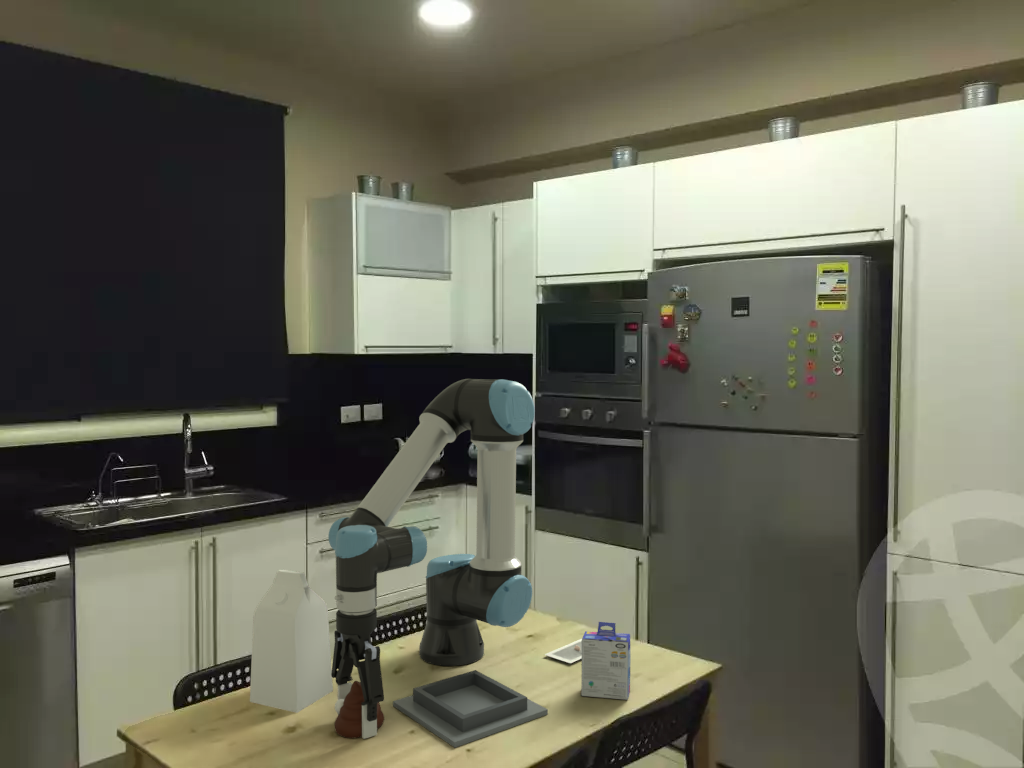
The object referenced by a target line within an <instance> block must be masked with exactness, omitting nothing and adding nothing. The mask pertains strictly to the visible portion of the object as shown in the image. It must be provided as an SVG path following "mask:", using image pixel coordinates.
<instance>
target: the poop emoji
mask: <svg viewBox="0 0 1024 768" xmlns="http://www.w3.org/2000/svg"><path fill="white" fill-rule="evenodd" d="M362 702H365V701H364V697H363V692H362V687H361V683H360V680H353V682H352V686H351V689H350V692H349V693H348V694H347V695H346V697H345V700H344V699H339V700H338V699H337V700H336V701H335V704H334V710H335V712H336V713H337V716H336V718H335V721H334V730H335V732H336V733H337V734H338V735H339V736H340V737H342V738H343V737H344V738H347V739H358V738H362V704H361V703H362ZM380 703H381V702H378V703H377V729H379V728H381V726H382V725H383V724H384V722H385V716H384V713H383V711H382V709H381V708H382V707H381V704H380ZM338 714H339V715H338Z"/></svg>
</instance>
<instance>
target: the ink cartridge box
mask: <svg viewBox="0 0 1024 768" xmlns="http://www.w3.org/2000/svg"><path fill="white" fill-rule="evenodd" d="M602 627H610V628H612V629H602ZM581 639H582V658H581V691H580V692H581V694H580V696H582V697H588V698H589V697H590V698H591V697H592V698H601V699H602V698H603V699H604V698H605V699H614V700H615V699H616V700H629V696H630V693H631V634H630V633H621V632H616V623H615V622H604V621H598V626H597V631H588V630H587V631H584V633H583V636H582V638H581Z"/></svg>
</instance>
